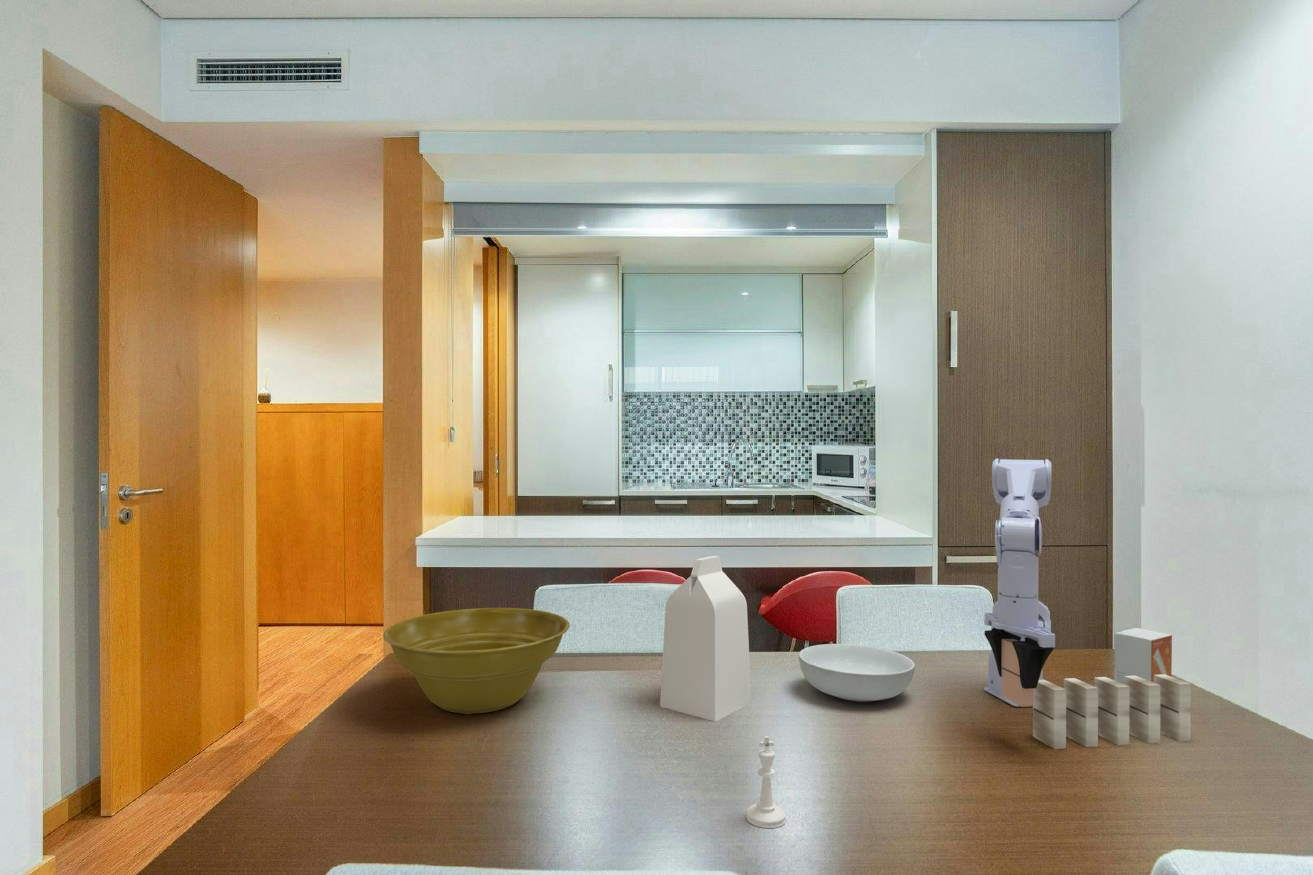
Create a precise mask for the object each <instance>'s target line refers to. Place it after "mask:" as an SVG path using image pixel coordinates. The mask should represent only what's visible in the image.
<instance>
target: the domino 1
mask: <svg viewBox="0 0 1313 875" xmlns="http://www.w3.org/2000/svg"><path fill="white" fill-rule="evenodd" d="M1032 738H1034V739H1036V740H1038V741H1040V742H1042V743H1043V744H1045V745H1046V746H1049V747H1050V748H1052V749H1054V750H1061V749H1062V750H1063V749H1066V748H1067V736H1066V689H1064V687H1061V686H1059V685H1057V684H1055V683H1053V682H1051V681H1049V680H1046V679H1043V680H1039V681H1038V684H1037V688H1034V706H1032Z"/></svg>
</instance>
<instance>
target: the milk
mask: <svg viewBox="0 0 1313 875" xmlns="http://www.w3.org/2000/svg"><path fill="white" fill-rule="evenodd" d="M664 610H665V613H664V630H663V643H662V644H663V645H662V646H663V647H662V664H661V665H662V667H661V683H660V697H659V698H660V699H659V700H660V701H659V707H660V708H665V709H668V710H671V711H675V712H679V713H683V714H686V715H690V716H693V717H697V718H699V719H700V718H701V719H703V720H708V721H712V722H717V721H719V720H721V719H723V718H725V717H727V716H729V715H731V714H732V713H735V712H736V711H738V710H740V709H741V708H745V707H746V706H748V705H749V704H752V687H751V682H752V681H751V666H750V663H751V662H750V661H751V660H750V644H749V643H750V642H749V641H750V640H749V624H748V623H749V622H748V605H747V599H746V597H745V596H744V594H743V593H742V591H741V590H740V588H738V587H737V585H736V584H735V583H734V582H733V581H732V580H731V579H730V578H729V577H728V576H727V574H726V573H725V572H724V571H723V567H722V563H721V557H720V556H719V555H711V556H705V557H700V558H695V559H694V563H693V566H692V570H691V573H690V576H689V577H688V578H686V579H685V581H683V582H682V584H680V586H678V587H677V588H676V589H675V590H674V591H673V592H672V593H671V594H670V595H669V597H668V599H667V600H666V603H665V609H664Z"/></svg>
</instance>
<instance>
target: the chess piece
mask: <svg viewBox="0 0 1313 875" xmlns="http://www.w3.org/2000/svg"><path fill="white" fill-rule="evenodd" d="M759 746H760V747H764V749H760V750H759V751H758V758H759V760H760V764H761V768H758V770H757V774H758V775H759V776H761V777H762V780H761V789H760V796H759V801H757V803H755V804H752V805H750V806H748V808H747V809H746V815H745V818H746V821H748V823H749V824H752V825H753V826H755V827H757V828H762V829H776V828H780V827H783V826H784V825H785V824H786V822H787V817H786V811H785V810H784V809H783V808H782V807H780V806H778V805H776V803H775V802H774V800H773V792H772V790H773V789H772V782H771V778H772V777H774V776H776V771H775V769H773V768H772V765H773V761H774V759H775V756H776V754H775V751H773V750H772V749H770V747H774V746H775V742H774V741H773V740H770V737H769V736H768V735H765V736H764V741H761V740H760V741H759Z"/></svg>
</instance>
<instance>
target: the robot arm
mask: <svg viewBox="0 0 1313 875" xmlns="http://www.w3.org/2000/svg"><path fill="white" fill-rule="evenodd" d="M1052 472H1053V471H1052V462H1051V461H1050V460H1049V459H1048V458H1045V460H1044V459H1003V458H1001V459H999V458H995V459H994V460H992V465H991V486H992V492H993V498H994V499H995V503H997V504H998V505H1000V507H999V508H1000V509H999V520H998V519H996V520H995V524H994V525H995V526H994V548H995V551H996V565H997V566H998V567H997V601H995V602H994V605H992V612H984V625H985V626H988V627H990V629H989V630H988V629H987V630H984V636H985V638H986V640H987V642H988V643H989V645H990V646H989V647H990V648H991V650H990V652H989V654H988V659H987V660H988V662H987V666H988V669H987V671H988V674H987V676H988V677H987V679H988V680H987V686H986V687H984V688H983V690H984V691H985V692H987V693H989V694H990V695H992V696H994V697H997V698H998V699H1000V700H1001V701H1004V702H1006V703H1007V704H1009V705H1011V706H1013V707H1020V706H1019V705H1017V704H1016V703H1014V702H1012V701H1010V700H1008V699H1006V698H1004V697H1002V696H1001V684H1002V639H1015V640H1018V641H1012V645H1013V647H1014V649H1015V651H1016V654H1017V658H1018V663H1019V671H1020V682H1021V686H1022V688H1024V689H1032V688H1037V684H1038V681H1039V680H1044V678H1043V676H1044V674H1043V673H1044V671H1043V669H1044V667H1045V663H1046V661H1047V660H1048V658H1049V656H1050V655H1051V654H1052V652H1053V651H1054V648H1056V634H1055V633H1053V632H1052V619H1051V611H1050V610H1049V607H1048V606H1047V605H1045V604H1044V603H1043V602H1041V601H1040V600H1039V561H1040V560H1039V557H1040V556H1041V553H1042V546H1043V545H1042V542H1043V541H1042V539H1043V534H1042V533H1043V532H1042V530H1043V529H1042V528H1043V527H1042V521H1041V518H1040V516H1039V514H1040V511H1039V510H1040V508H1043V507H1046V506H1048V505H1049V504H1050V502H1049V501H1050V500H1051V492H1052V478H1053V477H1052V474H1053V473H1052ZM1036 551H1037V552H1038V554H1037V553H1036Z"/></svg>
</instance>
